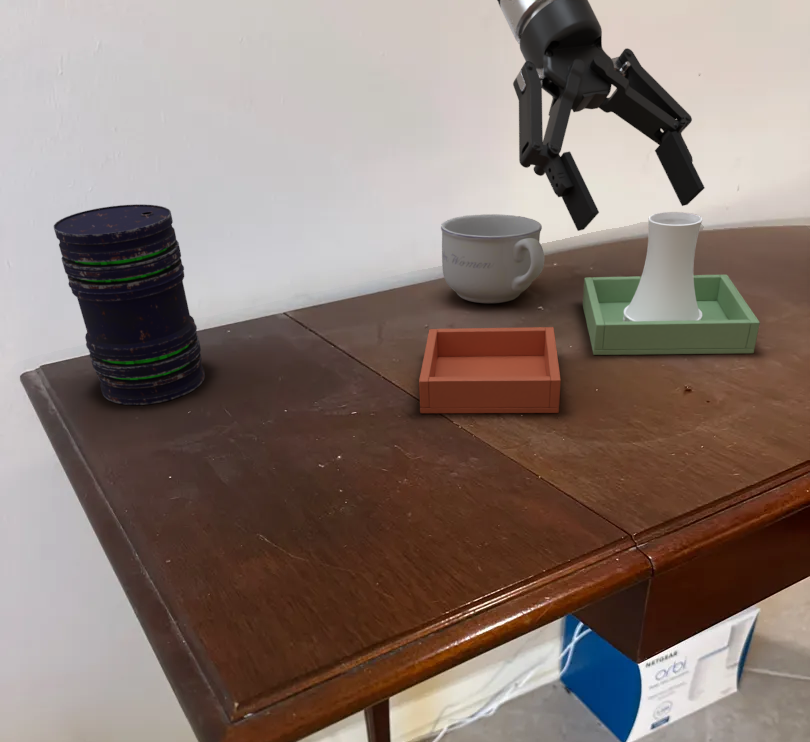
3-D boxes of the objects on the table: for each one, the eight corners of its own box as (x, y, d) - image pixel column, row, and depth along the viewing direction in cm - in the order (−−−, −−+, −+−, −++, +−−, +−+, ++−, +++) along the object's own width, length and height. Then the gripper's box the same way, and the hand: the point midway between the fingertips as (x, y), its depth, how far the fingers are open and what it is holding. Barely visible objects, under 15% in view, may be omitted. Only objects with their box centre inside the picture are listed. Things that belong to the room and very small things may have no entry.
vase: (680, 305, 85) (695, 204, 79) (714, 331, 79) (733, 224, 73) (611, 313, 84) (621, 212, 78) (640, 340, 78) (653, 232, 72)
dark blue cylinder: (111, 415, 72) (60, 242, 63) (91, 376, 79) (43, 216, 70) (219, 388, 75) (185, 220, 67) (191, 353, 83) (157, 198, 74)
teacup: (428, 289, 95) (426, 217, 90) (512, 274, 98) (514, 204, 93) (477, 328, 84) (477, 249, 79) (570, 310, 87) (575, 233, 82)
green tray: (722, 302, 86) (727, 274, 85) (753, 353, 75) (760, 322, 74) (582, 305, 88) (584, 277, 86) (593, 355, 77) (596, 324, 75)
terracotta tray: (552, 357, 77) (553, 326, 75) (558, 413, 68) (560, 379, 66) (430, 358, 78) (429, 328, 77) (420, 413, 69) (418, 380, 67)
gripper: (625, 40, 89) (708, 209, 87) (432, 65, 79) (521, 256, 77) (667, -19, 82) (759, 163, 80) (462, 0, 73) (560, 208, 70)
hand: (642, 209), depth 79 cm, fingers open, 13 cm apart
